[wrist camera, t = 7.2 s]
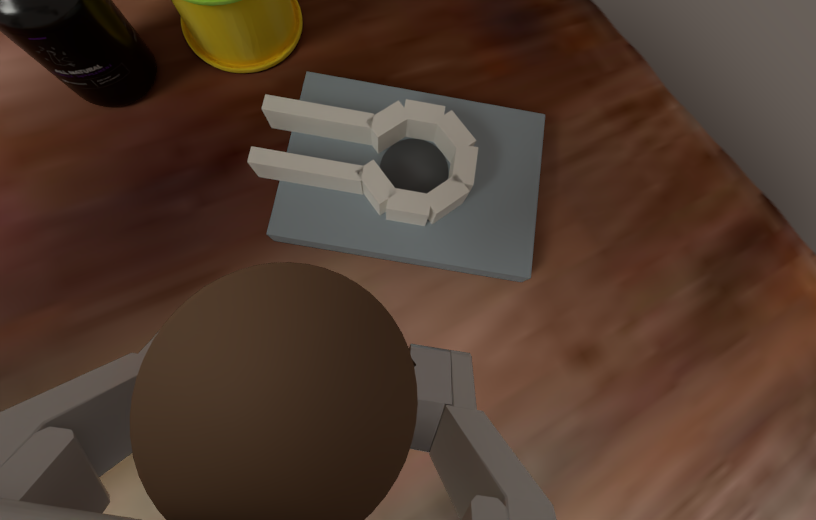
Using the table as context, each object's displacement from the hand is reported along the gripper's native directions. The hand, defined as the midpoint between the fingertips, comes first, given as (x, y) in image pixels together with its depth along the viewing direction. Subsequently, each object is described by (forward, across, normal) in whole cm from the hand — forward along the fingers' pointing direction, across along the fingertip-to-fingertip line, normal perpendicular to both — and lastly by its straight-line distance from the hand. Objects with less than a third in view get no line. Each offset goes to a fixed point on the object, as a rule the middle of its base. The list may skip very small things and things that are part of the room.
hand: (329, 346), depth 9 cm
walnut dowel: (+4, 0, +5) cm, 6 cm away
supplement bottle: (+27, +25, +1) cm, 37 cm away
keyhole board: (+23, -1, +4) cm, 24 cm away
